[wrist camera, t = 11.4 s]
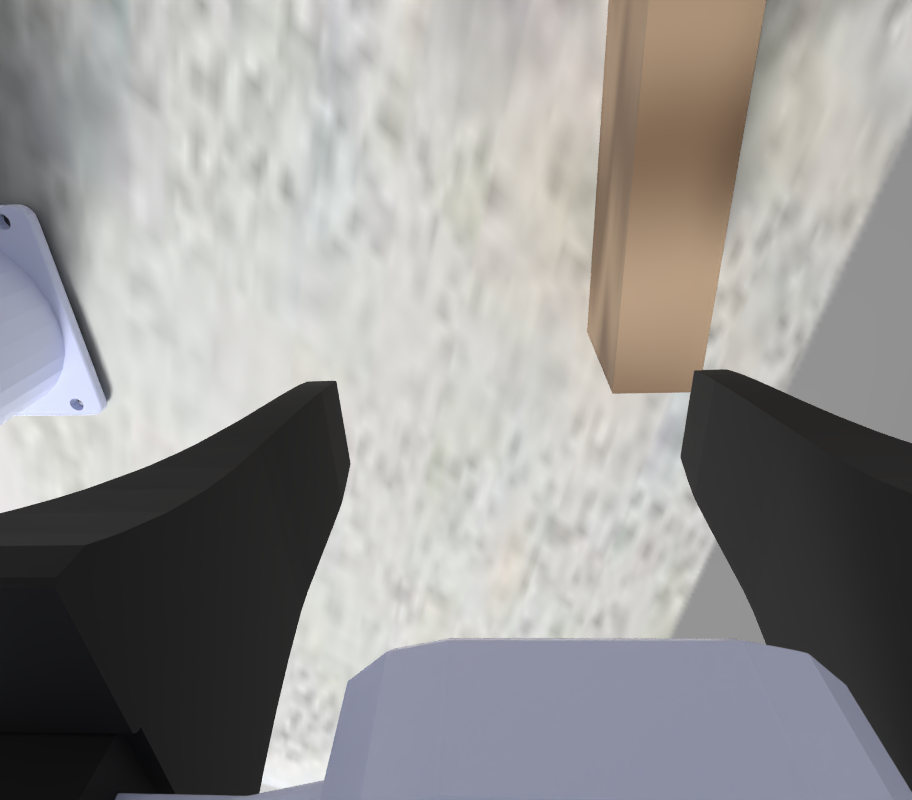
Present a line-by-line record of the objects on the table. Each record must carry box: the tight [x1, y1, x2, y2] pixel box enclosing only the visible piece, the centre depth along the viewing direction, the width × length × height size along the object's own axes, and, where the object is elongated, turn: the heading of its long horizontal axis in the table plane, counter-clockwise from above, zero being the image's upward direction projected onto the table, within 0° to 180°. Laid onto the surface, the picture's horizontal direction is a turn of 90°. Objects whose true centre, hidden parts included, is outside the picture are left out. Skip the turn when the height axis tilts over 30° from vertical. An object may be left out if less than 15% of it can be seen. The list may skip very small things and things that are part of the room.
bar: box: [587, 0, 766, 393], centre depth 15 cm, size 12×2×5 cm, turn 3°
